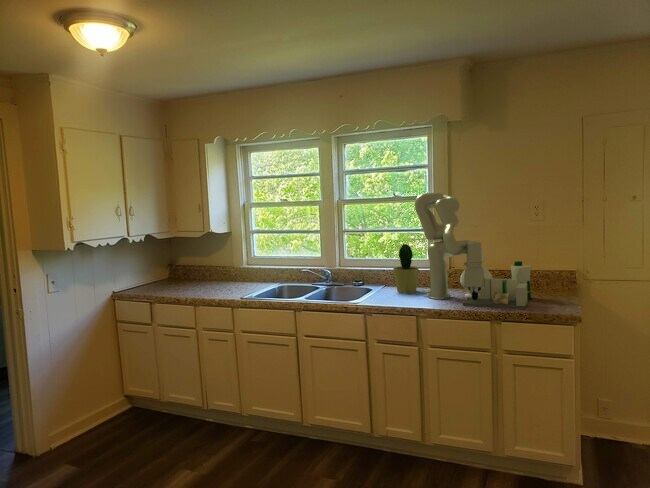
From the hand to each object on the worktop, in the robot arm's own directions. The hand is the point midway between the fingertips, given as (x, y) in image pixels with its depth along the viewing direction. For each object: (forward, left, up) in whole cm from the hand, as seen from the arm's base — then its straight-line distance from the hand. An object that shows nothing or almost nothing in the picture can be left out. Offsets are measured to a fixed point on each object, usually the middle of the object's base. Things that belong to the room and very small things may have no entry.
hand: (474, 299), depth 258 cm
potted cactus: (-45, +23, -3) cm, 51 cm away
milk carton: (+21, +18, -3) cm, 28 cm away
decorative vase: (-3, +21, -3) cm, 22 cm away
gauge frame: (+10, +1, -3) cm, 10 cm away
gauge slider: (+13, +1, -1) cm, 13 cm away
